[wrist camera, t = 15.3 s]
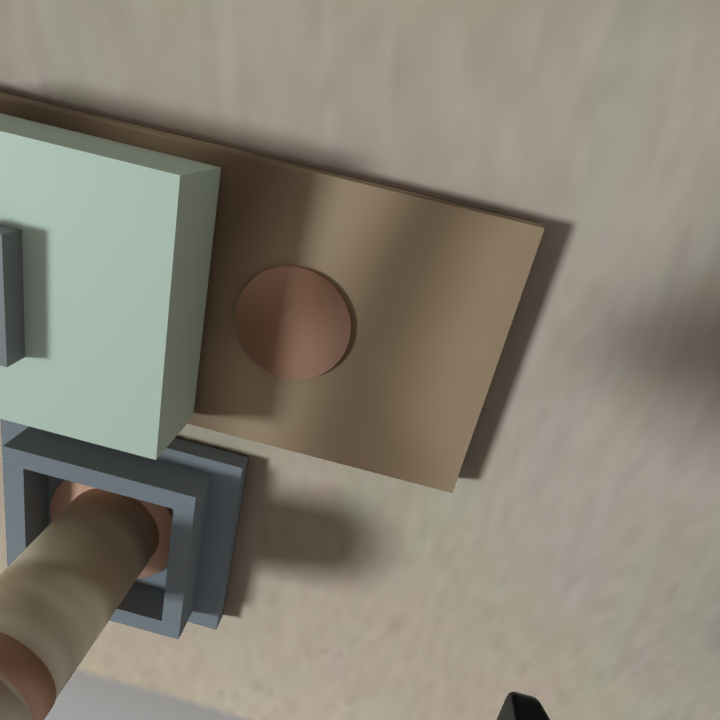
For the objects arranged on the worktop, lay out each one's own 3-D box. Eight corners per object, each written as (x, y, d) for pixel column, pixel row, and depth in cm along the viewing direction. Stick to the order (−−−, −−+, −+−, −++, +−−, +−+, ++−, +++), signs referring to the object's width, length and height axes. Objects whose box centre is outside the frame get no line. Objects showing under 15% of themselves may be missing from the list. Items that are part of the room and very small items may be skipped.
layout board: (539, 223, 18) (545, 229, 17) (451, 477, 22) (452, 496, 21) (-55, 78, 19) (-86, 75, 18) (-35, 350, 23) (-59, 361, 22)
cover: (221, 167, 17) (166, 177, 14) (193, 416, 21) (143, 474, 18) (-85, 92, 18) (-213, 84, 14) (-61, 349, 21) (-158, 393, 18)
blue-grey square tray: (248, 457, 23) (229, 490, 21) (222, 615, 26) (203, 657, 24) (13, 395, 23) (-29, 422, 21) (19, 560, 27) (-16, 597, 25)
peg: (164, 501, 23) (33, 677, 16) (156, 576, 25) (36, 766, 17) (68, 475, 23) (-105, 637, 16) (67, 551, 25) (-90, 730, 18)
